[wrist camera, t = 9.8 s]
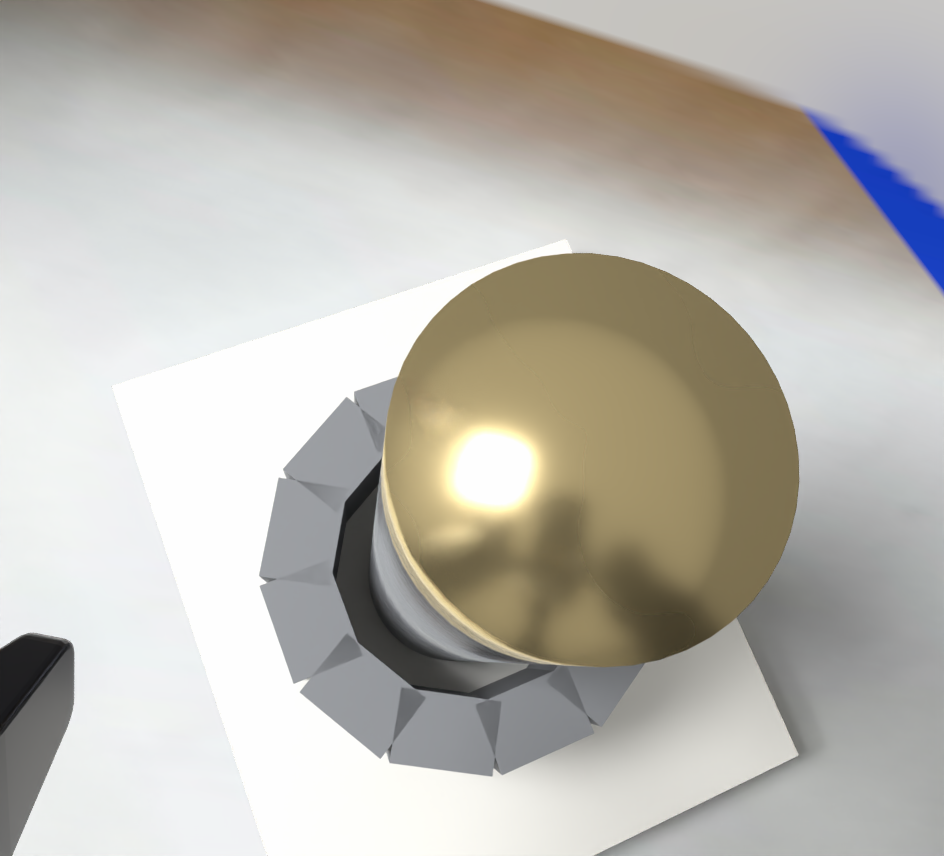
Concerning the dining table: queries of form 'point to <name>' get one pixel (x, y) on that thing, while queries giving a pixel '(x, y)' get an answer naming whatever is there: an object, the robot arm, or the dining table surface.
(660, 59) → the dining table surface
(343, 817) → the socket plate
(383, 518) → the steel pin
